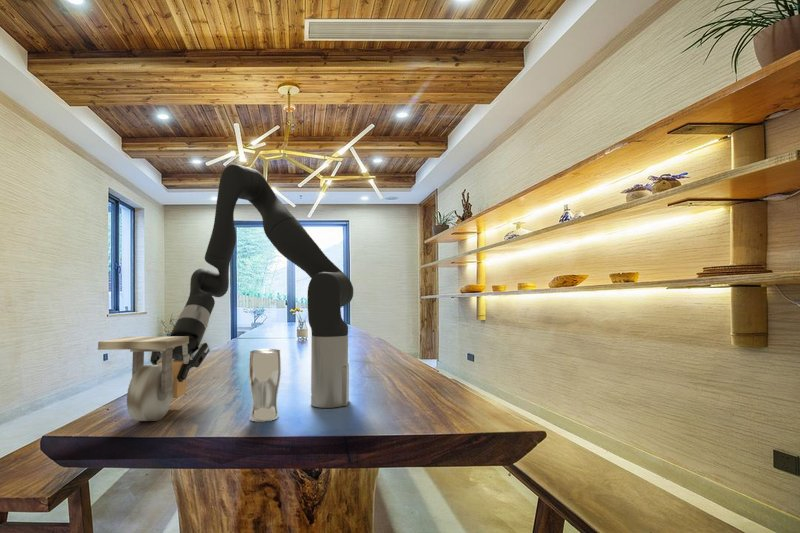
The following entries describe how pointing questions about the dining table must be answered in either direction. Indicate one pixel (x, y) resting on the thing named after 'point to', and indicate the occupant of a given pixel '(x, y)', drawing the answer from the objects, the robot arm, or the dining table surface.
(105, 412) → the dining table surface
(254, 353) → the beer glass
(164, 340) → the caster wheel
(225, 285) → the robot arm
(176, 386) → the orange tan block
